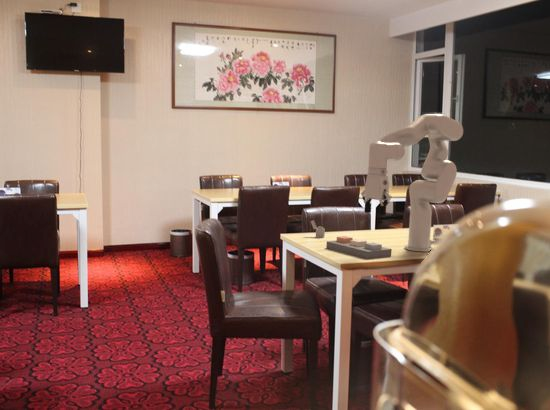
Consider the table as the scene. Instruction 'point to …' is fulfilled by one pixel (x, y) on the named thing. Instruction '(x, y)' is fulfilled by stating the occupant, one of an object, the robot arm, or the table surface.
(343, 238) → the terracotta button
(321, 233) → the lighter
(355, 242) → the cream button
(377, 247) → the slate button
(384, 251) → the button panel
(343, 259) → the table surface
